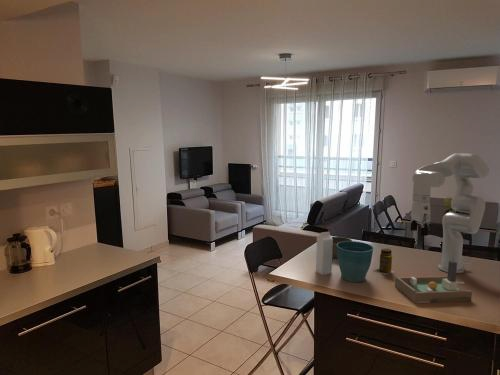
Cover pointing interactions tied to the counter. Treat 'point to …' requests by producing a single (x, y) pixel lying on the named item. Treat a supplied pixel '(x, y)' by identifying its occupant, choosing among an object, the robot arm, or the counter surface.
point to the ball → (432, 285)
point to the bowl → (336, 241)
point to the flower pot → (354, 259)
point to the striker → (451, 277)
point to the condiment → (385, 262)
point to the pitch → (429, 290)
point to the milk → (324, 253)
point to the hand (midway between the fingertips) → (418, 232)
